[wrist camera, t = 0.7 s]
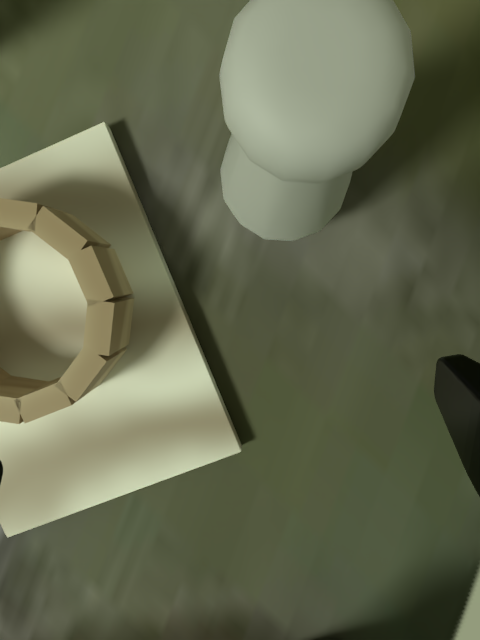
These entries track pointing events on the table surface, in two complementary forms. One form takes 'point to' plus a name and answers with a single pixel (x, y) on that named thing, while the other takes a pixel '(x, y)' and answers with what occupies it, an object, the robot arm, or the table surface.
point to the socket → (92, 342)
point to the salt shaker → (308, 106)
